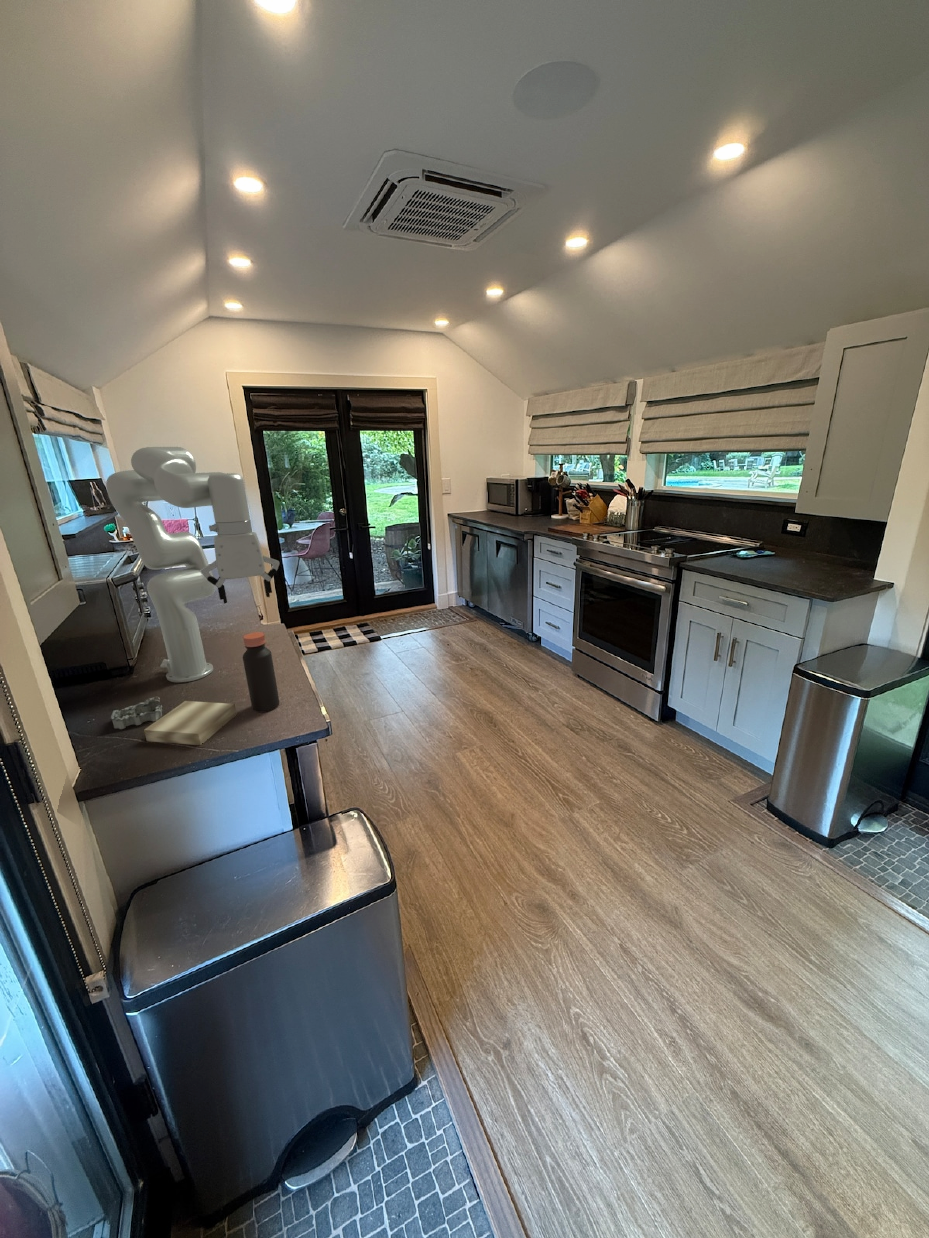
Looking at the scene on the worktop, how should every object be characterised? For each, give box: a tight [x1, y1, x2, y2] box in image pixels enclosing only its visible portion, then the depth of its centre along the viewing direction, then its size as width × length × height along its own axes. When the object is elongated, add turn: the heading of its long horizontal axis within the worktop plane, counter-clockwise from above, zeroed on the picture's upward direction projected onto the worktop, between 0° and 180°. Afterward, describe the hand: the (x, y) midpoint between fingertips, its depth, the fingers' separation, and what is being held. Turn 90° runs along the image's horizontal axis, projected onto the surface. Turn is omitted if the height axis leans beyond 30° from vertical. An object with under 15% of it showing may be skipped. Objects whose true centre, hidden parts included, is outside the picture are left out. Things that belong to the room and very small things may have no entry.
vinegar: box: [242, 631, 280, 713], centre depth 126 cm, size 7×7×20 cm
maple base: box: [143, 700, 238, 746], centre depth 119 cm, size 14×14×3 cm
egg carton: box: [110, 696, 163, 730], centre depth 124 cm, size 11×8×4 cm
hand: (247, 599), depth 120 cm, fingers open, 9 cm apart
